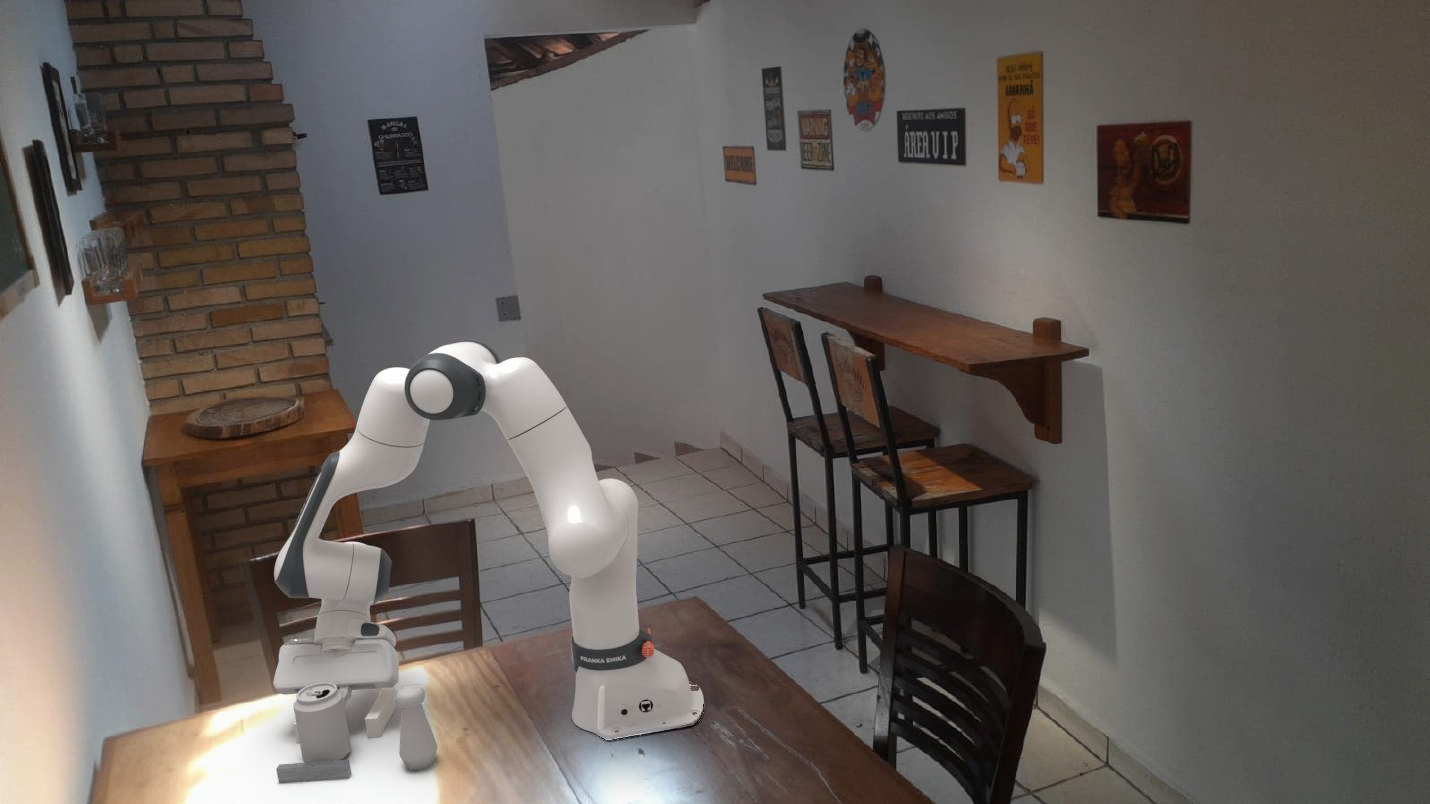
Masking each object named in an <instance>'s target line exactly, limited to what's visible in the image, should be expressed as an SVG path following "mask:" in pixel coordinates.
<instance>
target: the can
mask: <svg viewBox="0 0 1430 804" xmlns="http://www.w3.org/2000/svg"><path fill="white" fill-rule="evenodd" d="M295 697H296V700H295V701H294V702H293V710H294V716H295V717H294V718H295V721H296V724H297V730H298V735H299V741H300V743H299V747H300V751H301V756H302V757H301V758H302V760H303V763H307V762H321V761H336V760H345V758H346V756H347V755H348V754H349V753H350V752H351V749H352V745H351V740H350V739H351V738H350V733H349V727H348V721H347V713H346V707H345V706H344V700H343V694H342V692H341V691H340V690H338V689H337V686H336V685H335V684H333V683H331V682H320V683H315V684H311V685H309V686H306V687H304V688H303V689H301V690H300V691H299V692H298V693H297V694H295Z"/></svg>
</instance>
